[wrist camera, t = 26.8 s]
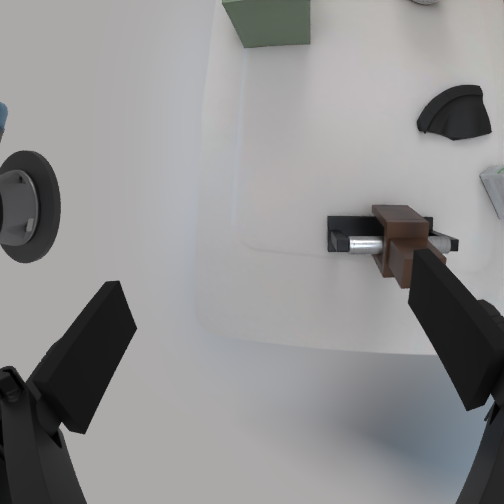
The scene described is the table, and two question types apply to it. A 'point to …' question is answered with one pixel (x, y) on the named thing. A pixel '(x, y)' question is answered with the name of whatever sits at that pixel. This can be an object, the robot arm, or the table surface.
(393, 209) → the brown arch stand
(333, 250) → the rail stand
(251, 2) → the plinth
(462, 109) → the curved wedge
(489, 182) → the ink box
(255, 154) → the table surface
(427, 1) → the mug
